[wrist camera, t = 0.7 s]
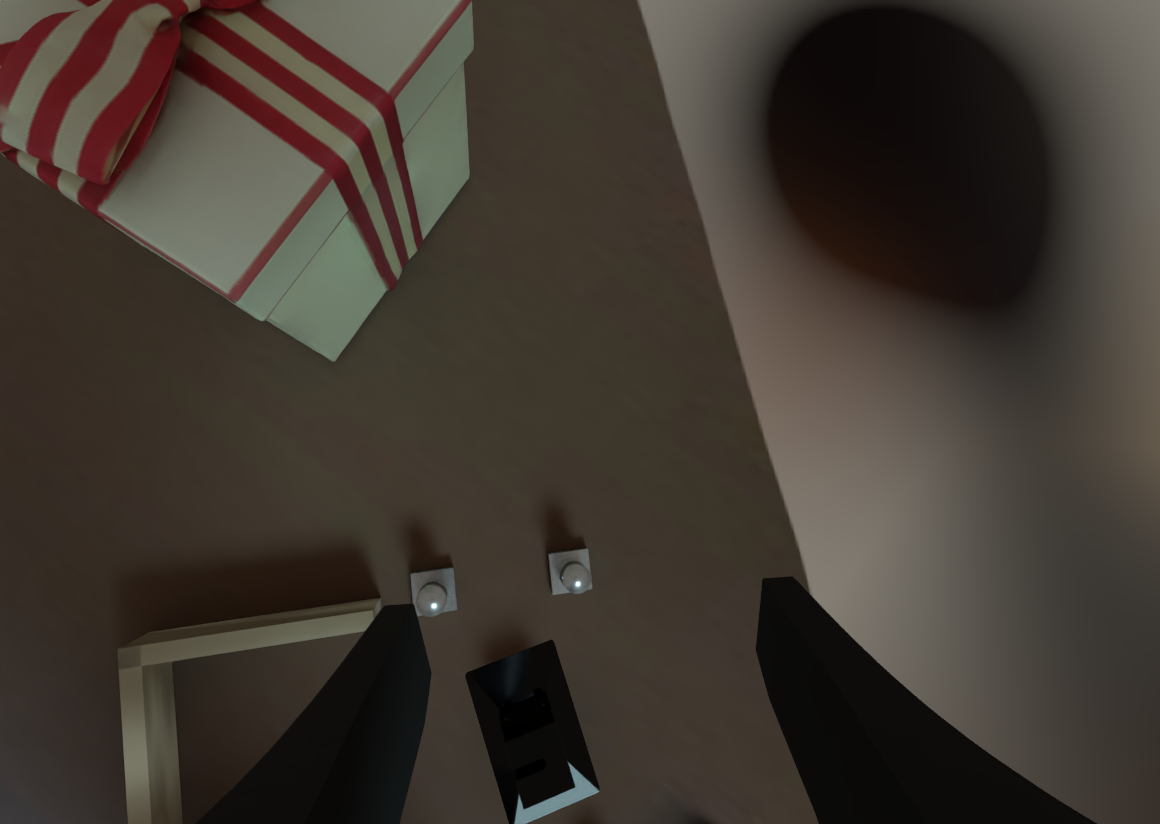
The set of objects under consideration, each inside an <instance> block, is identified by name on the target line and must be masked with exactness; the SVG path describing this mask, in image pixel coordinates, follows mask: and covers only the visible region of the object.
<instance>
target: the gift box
mask: <svg viewBox="0 0 1160 824" xmlns="http://www.w3.org/2000/svg"><path fill="white" fill-rule="evenodd" d="M473 48H474V42H473V18H472V1H471V0H0V154H2V155H3V156H5V157H6V158H8V159H9V160H10V161H12V162H13V163H15V164H17V165H18V166H19V167H21V168H22V169H24V170H25V171H27V172H28V173H30V174H31V175H32V176H34V177H35V178H37V179H39V180H40V181H42V182H43V183H45V184H47V185H48V186H50V187H51V188H53V189H55V190H56V191H58V192H59V193H61V194H62V195H64V196H65V197H67V198H68V199H70V200H72V201H73V202H75V203H77V204H78V205H80V206H81V207H83V208H84V209H86V210H88V211H89V212H91V213H92V214H93V215H95V216H96V217H98V218H100V219H101V220H103V221H104V222H106V223H108V224H109V225H111V226H112V227H114V228H116V229H117V230H119V231H120V232H122V233H123V234H125V235H126V236H128V237H129V238H131V239H132V240H134V241H135V242H136V243H138V244H139V245H141V246H143V247H145V248H146V249H148V250H149V251H152V252H154V253H155V254H157V255H158V256H160V257H162V258H163V259H165V260H166V261H168V262H170V263H171V264H173V265H175V266H176V267H178V268H179V269H181V270H183V271H184V272H186V273H187V274H189V275H190V276H192V277H194V278H195V279H197V280H198V281H200V282H201V283H203V284H204V285H206V286H208V287H209V288H211V289H212V290H214V291H215V292H217V293H218V294H220V295H222V296H223V297H225V298H226V299H227V300H229V301H230V302H232V303H233V304H235V305H236V306H238V307H239V308H241V309H242V310H244V311H245V312H247V313H248V314H250V315H251V316H253V317H254V318H256V319H258V320H260V321H262V322H263V321H265V320H267V321H268V322H270V323H271V324H273V325H274V326H276V327H278V328H279V329H281V330H282V331H284V332H286V333H287V334H289V335H290V336H292V337H294V338H295V339H297V340H298V341H300V342H302V343H303V344H305V345H307V346H308V347H310V348H311V349H313V350H315V351H316V352H318V353H320V354H321V355H323V356H325V357H326V358H328V359H329V360H331V361H333V362H335V361H336V360H337V359H338V358H339V356H340V355H341V353H342V352H343V351H344V349H345V348H346V346H347V345H348V344H349V342H350V341H351V340H352V338H353V337H354V336H355V334H356V333H357V331H358V329H359V328H360V326H361V325H362V324H363V322H364V321H365V320H366V318H367V317H368V315H369V314H370V313H371V311H372V310H373V309H374V307H375V306H376V305H377V303H378V302H379V301H380V299H381V298H382V297H383V295H384V294H385V292H386V291H387V290H393V289H394V287H395V285H396V284H397V282H398V280H399V277H400V274H401V272H402V269H403V268H404V266H405V265H406V263H407V261H408V260H409V259H410V258H411V257H412V256H413V255H414V254H415V253H416V252H417V251H418V250H419V248H420V246H421V245H422V243H423V240H424V238H425V237H426V236H427V234H428V233H429V231H430V230H431V229H432V227H433V226H434V225H435V223H436V222H437V221H438V219H439V218H440V216H441V215H442V214H443V212H444V211H445V210H446V208H447V207H448V206H449V204H450V203H451V202H452V200H453V199H454V198H455V196H456V195H457V194H458V192H459V191H460V189H461V188H462V186H463V185H464V184H465V182H466V181H467V180H468V179H469V174H470V173H469V154H468V133H467V115H466V98H465V80H464V61H465V60H466V59H467V58H468V56H469V55H470V54H471V53H472V51H473Z"/></svg>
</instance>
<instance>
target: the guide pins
mask: <svg viewBox="0 0 1160 824" xmlns="http://www.w3.org/2000/svg"><path fill="white" fill-rule="evenodd" d="M547 554H548V564H549V573H550V583H551V592H552V594H553V595H556V594H562V593H569V592H571V593H574V594H580V593H583V592H585V591H586V590H588V589H592V582H591V573H590V564H589V555H588V548H586V547H585V548H578V549H571V550H564V551H556V552H549V553H547ZM410 575H411V586H412V597H413V604H414V605H415V609H416V613H417V616H421V615H424V616H428V617H433V616H436V615H438V614H440V613H441V612H446V611H453V610H457V598H456V588H455V578H454V567H453V566H451V567H444V568H437V569H430V570H423V571H416V572H411V574H410Z"/></svg>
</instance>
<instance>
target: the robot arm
mask: <svg viewBox="0 0 1160 824" xmlns="http://www.w3.org/2000/svg"><path fill="white" fill-rule="evenodd" d="M756 652H757V656H758V660H759V663H760V667H761V671H762V675H763V678H764V682H765V685H766V689H767V692H768V696H769V699H770V702H771V704H772V707H773V709H774V712H775V714H776V717H777V719H778V722H779V724H780V727H781V729H782V732H783V735H784V737H785V740H786V742H787V744H788V747H789V749H790V752H791V754H792V757H793V759H794V762H795V764H796V767H797V769H798V772H799V774H800V777H801V779H802V782H803V784H804V786H805V789H806V791H807V794H808V796H809V799H810V801H811V804H812V806H813V809H814V811H815V814H816V817H817V819H818V822H819V824H1096V823H1095V822H1093V821H1092V820H1090V819H1088V818H1087V817H1085V816H1083V815H1082V814H1080V813H1078V812H1077V811H1075V810H1073V809H1072V808H1070V807H1069V806H1067V805H1065V804H1064V803H1062V802H1060V801H1059V800H1057V799H1056V798H1054V797H1053V796H1051V795H1050V794H1048V793H1046V792H1045V791H1043V790H1042V789H1040V788H1039V787H1037V786H1036V785H1034V784H1033V783H1031V782H1030V781H1028V780H1027V779H1025V778H1024V777H1023V776H1021V775H1020V774H1018V773H1016V772H1015V771H1013V770H1012V769H1011V768H1009V767H1008V766H1006V765H1005V764H1003V763H1002V762H1001V761H999V760H998V759H996V758H995V757H993V756H992V755H990V754H989V753H988V752H986V751H985V750H983V749H982V748H981V747H979V746H978V745H977V744H975V743H974V742H972V741H971V740H970V739H968V738H967V737H966V736H964V735H963V734H962V733H961V732H959V731H958V730H957V729H956V728H954V727H953V726H952V725H950V724H949V723H948V722H946V721H945V720H944V719H942V718H941V717H940V716H939V715H938V714H936V713H935V712H934V711H933V710H931V709H930V708H929V707H928V706H926V705H925V704H924V703H923V702H922V701H921V700H919V699H918V698H917V697H916V696H915V695H913V694H912V693H911V692H910V691H909V690H908V689H907V688H906V687H904V686H903V685H902V684H901V683H900V682H899V681H898V680H896V679H895V678H894V677H893V676H892V675H891V674H890V673H889V672H887V670H885V669H884V668H883V667H882V666H881V665H880V664H879V663H878V662H877V661H876V660H875V659H874V658H873V657H872V656H871V655H870V654H868V653H867V652H866V651H865V650H864V649H863V648H862V647H861V646H860V645H859V644H858V643H857V642H856V641H855V640H854V639H853V638H852V637H851V636H850V635H849V634H848V633H847V632H846V631H845V630H844V629H843V628H842V627H841V626H840V625H839V624H838V623H837V622H836V621H835V620H834V619H833V618H832V617H831V616H830V615H829V614H828V613H827V612H826V611H825V610H824V609H823V608H822V607H821V606H820V605H819V603H817V601H816V600H815V599H814V598H813V597H812V596H811V595H810V594H809V593H808V592H807V591H806V590H805V589H804V588H803V586H802V585H801V584H800V583H799V582H798V581H797V580H796V579H795V578H793V577H778V578H764V579H763V581H762V591H761V602H760V612H759V622H758V633H757V643H756ZM430 680H431V669H430V665H429V661H428V657H427V653H426V649H425V645H424V641H423V637H422V633H421V629H420V625H419V621H418V617H417V613H416V609H415V605H414V604H402V605H388V606H384V607H383V608H382V609H381V610H380V611H379V613H378V614H377V616H376V617H375V618H374V620H373V621H372V622H371V624H370V625H369V627H368V628H367V629H366V631H365V632H364V633H363V635H362V636H361V638H360V639H359V640H358V642H357V643H356V644H355V646H354V647H353V648H352V650H351V651H350V652H349V654H348V655H347V656H346V658H345V659H344V661H343V662H342V663H341V664H340V666H339V667H338V668H337V670H336V671H335V672H334V673H333V675H332V676H331V677H330V679H329V680H328V681H327V682H326V684H325V685H324V686H323V687H322V689H321V690H320V691H319V693H318V694H317V695H316V696H315V698H314V699H313V700H312V701H311V702H310V704H309V705H308V706H307V707H306V708H305V710H304V711H303V712H302V713H301V714H300V715H299V717H298V718H297V719H296V720H295V721H294V722H293V724H292V725H291V726H290V727H289V728H288V730H287V731H286V732H285V733H284V734H283V735H282V737H281V738H280V739H279V740H278V741H277V742H276V743H275V744H274V745H273V747H272V748H271V749H270V750H269V751H268V752H267V753H266V754H265V755H264V756H263V757H262V759H261V760H260V761H259V762H258V763H257V764H256V765H255V766H254V767H253V768H252V769H251V770H250V771H249V772H248V773H247V774H246V775H245V776H244V777H243V778H242V779H241V780H240V781H239V782H238V783H237V785H236V786H235V787H234V788H233V789H232V790H231V791H230V792H228V793H227V794H226V795H225V796H224V797H223V798H222V799H221V800H220V801H219V802H218V803H217V804H216V805H215V806H214V807H213V808H212V809H211V810H210V811H209V812H208V813H207V814H205V815H204V816H203V817H202V818H201V819H200V820H199V821H198V822H197V823H196V824H399V823H400V819H401V815H402V811H403V807H404V804H405V800H406V796H407V792H408V788H409V784H410V780H411V776H412V772H413V768H414V764H415V760H416V756H417V752H418V748H419V744H420V740H421V736H422V732H423V728H424V724H425V717H426V711H427V704H428V696H429V688H430Z"/></svg>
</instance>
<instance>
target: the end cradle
mask: <svg viewBox="0 0 1160 824" xmlns="http://www.w3.org/2000/svg"><path fill="white" fill-rule="evenodd" d="M381 609H382V602H381V598H376V599H369V600H362V601H356V602H349V603H342V604H335V605H329V606H322V607H315V608H308V609H302V610H295V611H288V612H281V613H275V614H268V615H261V616H254V617H248V618H241V619H234V620H227V621H221V622H214V623H207V624H200V625H194V626H187V627H180V628H173V629H167V630H160V631H153V632H149V633H147V634H145V635H143V636H141V637H139V638H137V639H135V640H133V641H132V642H130V643H128V644H126V645H124V646H122V647H120V648H118V649H117V651H118V667H119V683H120V700H121V716H122V733H123V749H124V765H125V782H126V798H127V814H128V824H183V818H182V803H181V788H180V773H179V758H178V743H177V728H176V713H175V698H174V683H173V668H172V661H178V660H184V659H190V658H197V657H203V656H209V655H216V654H222V653H228V652H235V651H241V650H248V649H254V648H260V647H267V646H273V645H279V644H286V643H292V642H298V641H305V640H311V639H317V638H324V637H330V636H337V635H343V634H349V633H356V632H362V631H366V629H367V628H368V627H369V625H370V624H371V622H372V621H373V620H374V618H375V617H376V616H377V614H378V613H379V611H380V610H381Z"/></svg>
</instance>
